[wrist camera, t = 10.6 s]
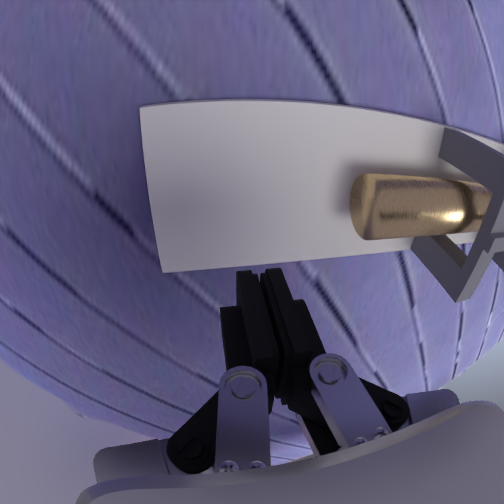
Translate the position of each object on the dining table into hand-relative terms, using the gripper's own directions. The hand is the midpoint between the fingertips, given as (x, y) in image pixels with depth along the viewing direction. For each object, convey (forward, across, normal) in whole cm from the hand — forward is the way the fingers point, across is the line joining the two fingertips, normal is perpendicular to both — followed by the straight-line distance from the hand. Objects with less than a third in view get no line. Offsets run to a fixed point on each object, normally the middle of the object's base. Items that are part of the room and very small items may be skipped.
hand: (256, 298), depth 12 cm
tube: (+8, -19, -1) cm, 21 cm away
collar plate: (+9, -15, -1) cm, 17 cm away
